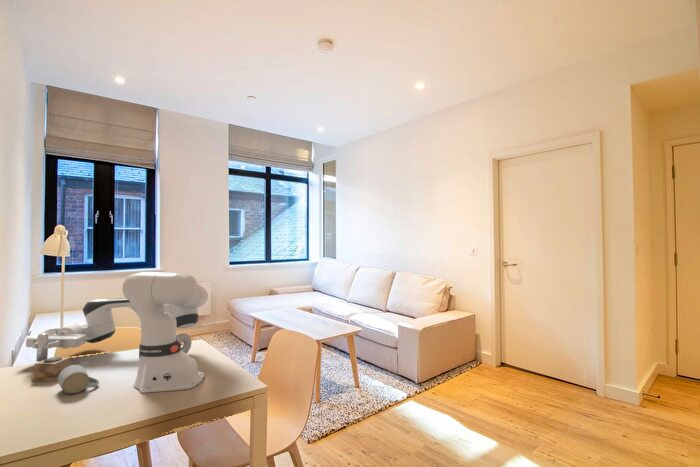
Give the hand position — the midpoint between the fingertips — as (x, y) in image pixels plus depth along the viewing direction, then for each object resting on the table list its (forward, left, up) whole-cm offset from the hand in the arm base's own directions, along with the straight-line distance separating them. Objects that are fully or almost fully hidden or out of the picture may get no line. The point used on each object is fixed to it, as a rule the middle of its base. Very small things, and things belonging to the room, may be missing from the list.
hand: (40, 346), depth 133 cm
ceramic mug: (-27, +18, -9) cm, 34 cm away
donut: (-46, -16, -9) cm, 50 cm away
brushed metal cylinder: (0, -1, -6) cm, 6 cm away
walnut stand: (-10, +7, -9) cm, 15 cm away
